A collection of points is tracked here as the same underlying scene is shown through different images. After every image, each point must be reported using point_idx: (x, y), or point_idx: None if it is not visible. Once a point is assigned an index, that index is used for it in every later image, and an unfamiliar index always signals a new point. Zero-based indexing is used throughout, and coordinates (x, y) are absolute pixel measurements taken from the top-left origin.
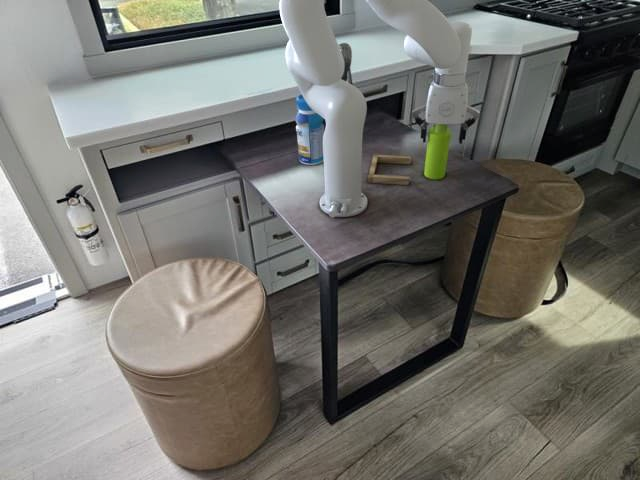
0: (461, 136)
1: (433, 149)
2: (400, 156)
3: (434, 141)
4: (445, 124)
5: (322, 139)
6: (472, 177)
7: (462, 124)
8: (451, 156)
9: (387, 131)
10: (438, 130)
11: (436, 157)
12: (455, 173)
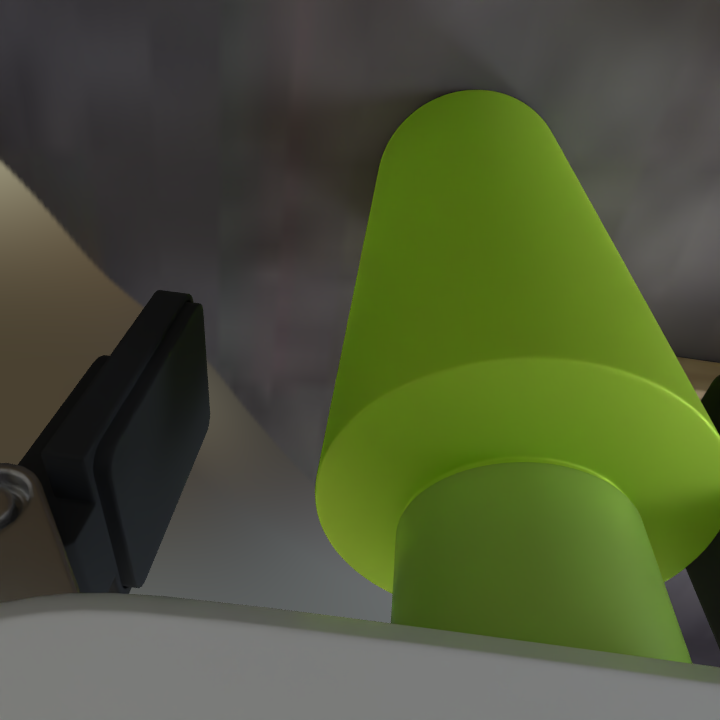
0: (135, 365)
1: (599, 243)
2: None
3: (636, 319)
4: None
5: None
6: (147, 128)
7: (22, 595)
8: (296, 425)
9: None
10: (603, 513)
11: (527, 173)
12: (285, 200)
